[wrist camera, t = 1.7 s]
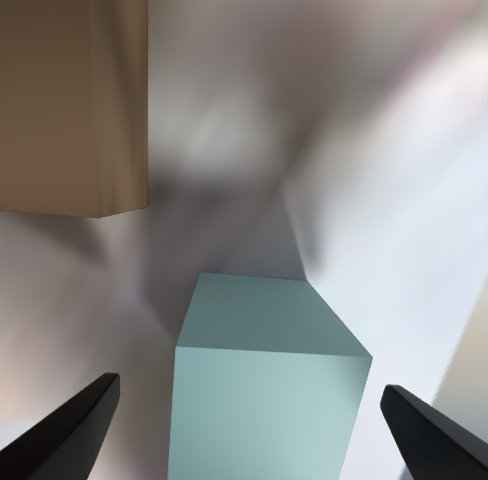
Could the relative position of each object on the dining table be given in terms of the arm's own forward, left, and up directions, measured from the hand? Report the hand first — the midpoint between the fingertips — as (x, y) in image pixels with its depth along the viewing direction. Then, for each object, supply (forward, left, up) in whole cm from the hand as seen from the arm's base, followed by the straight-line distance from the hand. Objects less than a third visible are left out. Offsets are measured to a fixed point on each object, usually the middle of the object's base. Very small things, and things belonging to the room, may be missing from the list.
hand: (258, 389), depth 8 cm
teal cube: (0, 0, -4) cm, 4 cm away
